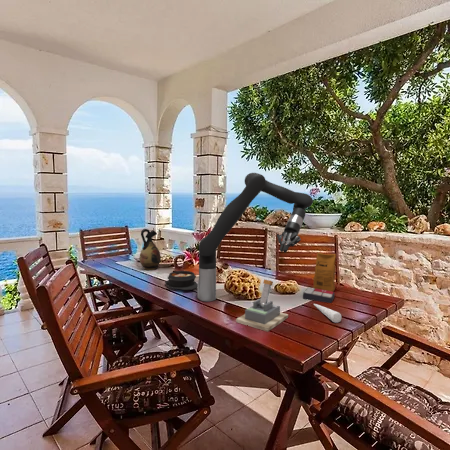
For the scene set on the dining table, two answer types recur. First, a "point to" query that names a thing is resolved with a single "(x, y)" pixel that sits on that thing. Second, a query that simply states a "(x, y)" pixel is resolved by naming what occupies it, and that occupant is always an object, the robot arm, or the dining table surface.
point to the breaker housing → (262, 312)
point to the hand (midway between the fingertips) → (282, 251)
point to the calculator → (318, 295)
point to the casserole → (181, 280)
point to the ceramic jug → (149, 252)
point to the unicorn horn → (330, 313)
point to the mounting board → (264, 327)
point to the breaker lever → (265, 292)
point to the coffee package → (325, 272)
